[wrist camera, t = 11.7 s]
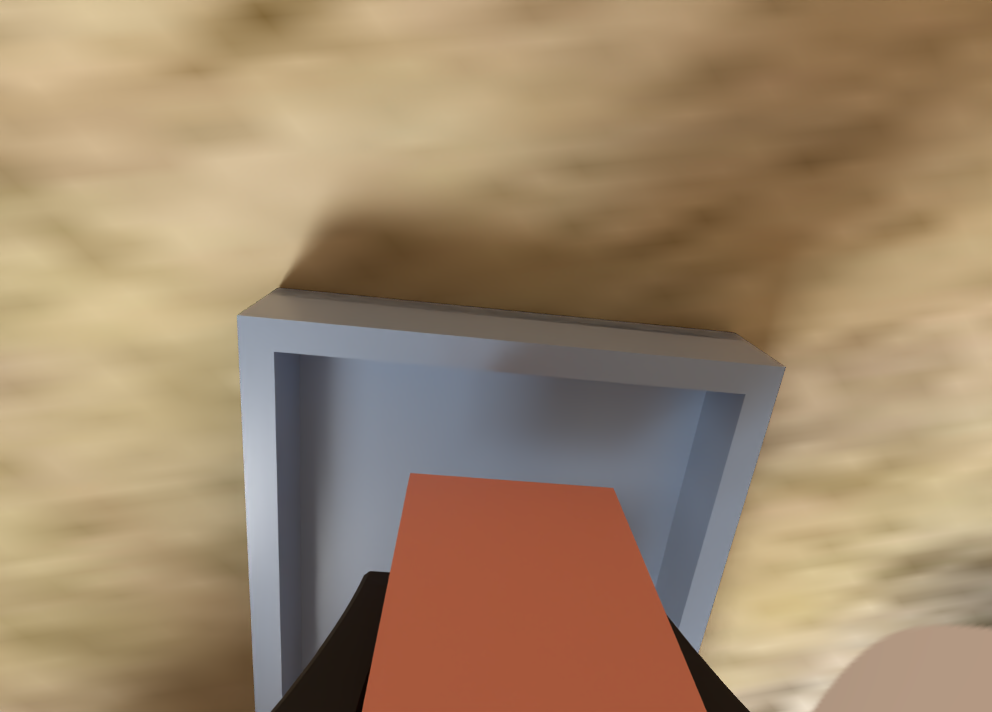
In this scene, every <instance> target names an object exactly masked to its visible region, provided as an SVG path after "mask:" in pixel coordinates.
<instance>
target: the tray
mask: <svg viewBox="0 0 992 712" xmlns="http://www.w3.org/2000/svg"><path fill="white" fill-rule="evenodd" d="M237 327H238V348H239V370H240V392H241V414H242V435H243V457H244V479H245V501H246V522H247V544H248V566H249V588H250V609H251V631H252V653H253V675H254V696H255V712H271V711H272V709H273V708H274V707H275V706H276V705H277V703H278V702H279V701H280V700H281V699H282V697H283V696H284V695H285V694H286V692H287V691H288V690H289V688H290V687H291V686H292V685H293V683H294V682H295V681H296V679H297V678H298V677H299V675H300V674H301V673H302V672H303V670H304V669H305V668H306V666H307V665H308V664H309V662H310V661H311V660H312V658H313V657H314V656H315V654H316V653H317V651H318V650H319V648H320V647H321V645H322V644H323V643H324V641H325V640H326V638H327V637H328V635H329V634H330V632H331V631H332V629H333V628H334V626H335V625H336V623H337V622H338V620H339V619H340V617H341V616H342V614H343V612H344V611H345V609H346V608H347V606H348V604H349V602H350V601H351V599H352V597H353V596H354V594H355V592H356V590H357V588H358V586H359V584H360V582H361V580H362V578H363V576H364V575H365V574H366V573H368V572H369V571H379V572H390V570H391V565H392V560H393V555H394V550H395V545H396V540H397V535H398V530H399V526H400V521H401V516H402V511H403V506H404V501H405V496H406V491H407V486H408V481H409V476H410V473H418V474H431V475H445V476H458V477H472V478H485V479H499V480H512V481H526V482H540V483H553V484H567V485H580V486H594V487H607V488H614V491H615V493H616V495H617V498H618V500H619V503H620V505H621V507H622V510H623V512H624V515H625V517H626V519H627V522H628V524H629V527H630V529H631V531H632V534H633V536H634V539H635V541H636V543H637V546H638V548H639V551H640V553H641V555H642V558H643V560H644V562H645V565H646V567H647V570H648V572H649V574H650V577H651V579H652V582H653V584H654V586H655V589H656V591H657V594H658V596H659V598H660V601H661V603H662V606H663V608H664V610H665V613H666V614H667V616H668V617H669V618H670V619H671V621H672V622H673V623H674V624H675V626H676V627H677V628H678V629H679V630H680V632H681V633H682V634H683V635H684V637H685V638H686V639H687V640H688V642H689V643H690V644H691V645H692V647H693V648H694V649H695V650H696V651H697V653H698V652H699V649H700V646H701V642H702V639H703V636H704V633H705V629H706V626H707V623H708V619H709V616H710V613H711V610H712V606H713V603H714V600H715V597H716V593H717V590H718V587H719V584H720V580H721V577H722V574H723V570H724V567H725V564H726V561H727V557H728V554H729V551H730V548H731V544H732V541H733V538H734V535H735V531H736V528H737V525H738V521H739V518H740V515H741V512H742V508H743V505H744V502H745V499H746V495H747V492H748V489H749V486H750V482H751V479H752V476H753V472H754V469H755V466H756V463H757V459H758V456H759V453H760V450H761V446H762V443H763V440H764V437H765V433H766V430H767V427H768V423H769V420H770V417H771V414H772V410H773V407H774V404H775V401H776V397H777V394H778V391H779V388H780V384H781V381H782V378H783V374H784V371H785V368H786V367H785V366H783V365H782V364H780V363H779V362H777V361H776V360H774V359H773V358H771V357H770V356H768V355H767V354H766V353H764V352H763V351H761V350H760V349H758V348H757V347H755V346H754V345H752V344H751V343H749V342H748V341H746V340H745V339H743V338H742V337H740V336H739V335H737V334H736V333H732V332H722V331H712V330H702V329H692V328H682V327H672V326H661V325H651V324H641V323H631V322H621V321H611V320H601V319H591V318H580V317H570V316H560V315H550V314H540V313H530V312H520V311H510V310H500V309H489V308H479V307H469V306H459V305H449V304H439V303H429V302H419V301H408V300H398V299H388V298H378V297H368V296H358V295H348V294H338V293H327V292H317V291H307V290H297V289H287V288H277V289H275V290H274V291H272V292H271V293H269V294H268V295H266V296H265V297H263V298H262V299H260V300H259V301H257V302H256V303H254V304H253V305H251V306H250V307H248V308H247V309H245V310H244V311H242V312H241V313H239V314H238V315H237Z"/></svg>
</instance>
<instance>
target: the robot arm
mask: <svg viewBox="0 0 992 712" xmlns="http://www.w3.org/2000/svg"><path fill="white" fill-rule="evenodd" d="M389 575H390V572H379V571H369V572H368V573H366V574H365V575H364V576H363V578H362V580H361V582H360V584H359V586H358V588H357V590H356V592H355V594H354V596H353V597H352V599H351V601H350V602H349V604H348V606H347V608H346V609H345V611H344V612H343V614H342V616H341V617H340V619H339V620H338V622H337V623H336V625H335V626H334V628H333V629H332V631H331V632H330V634H329V635H328V637H327V638H326V640H325V641H324V643H323V644H322V645H321V647H320V648H319V650H318V651H317V653H316V654H315V656H314V657H313V658H312V660H311V661H310V662H309V664H308V665H307V666H306V668H305V669H304V670H303V672H302V673H301V674H300V675H299V677H298V678H297V679H296V681H295V682H294V683H293V685H292V686H291V687H290V688H289V690H288V691H287V692H286V694H285V695H284V696H283V697H282V699H281V700H280V701H279V702H278V703H277V705H276V706H275V707H274V708H273V709H272V711H271V712H362V709H363V704H364V699H365V694H366V689H367V684H368V679H369V674H370V669H371V664H372V659H373V654H374V649H375V644H376V639H377V634H378V629H379V625H380V620H381V615H382V610H383V605H384V600H385V595H386V590H387V585H388V580H389ZM666 615H667V614H666ZM667 618H668V620H669V622H670V625H671V627H672V630H673V632H674V634H675V637H676V639H677V642H678V644H679V646H680V649H681V651H682V654H683V656H684V658H685V661H686V663H687V666H688V668H689V670H690V673H691V675H692V677H693V680H694V682H695V685H696V687H697V689H698V692H699V694H700V697H701V699H702V701H703V704H704V706H705V709H706V711H707V712H750V711H749V710H748V709H747V708H746V707H745V706H744V705H743V704H742V703H741V702H740V701H739V700H738V699H737V697H736V696H735V695H734V694H733V693H732V692H731V691H730V690H729V689H728V687H727V686H726V685H725V684H724V683H723V682H722V681H721V680H720V678H719V677H718V676H717V675H716V674H715V673H714V671H713V670H712V669H711V668H710V667H709V666H708V664H707V663H706V662H705V661H704V660H703V659H702V657H701V656H700V655H699V654H698V653H697V651H696V650H695V649H694V648H693V647H692V645H691V644H690V643H689V642H688V640H687V639H686V638H685V637H684V635H683V634H682V633H681V632H680V630H679V629H678V628H677V627H676V626H675V624H674V623H673V622H672V621H671V619H670V618H669V617H668V616H667Z"/></svg>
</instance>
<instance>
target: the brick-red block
mask: <svg viewBox="0 0 992 712" xmlns="http://www.w3.org/2000/svg"><path fill="white" fill-rule="evenodd" d="M362 712H707V711H706V709H705V706H704V704H703V701H702V699H701V697H700V694H699V692H698V689H697V687H696V685H695V682H694V680H693V677H692V675H691V673H690V670H689V668H688V666H687V663H686V661H685V658H684V656H683V654H682V651H681V649H680V646H679V644H678V642H677V639H676V637H675V634H674V632H673V630H672V627H671V625H670V622H669V620H668V618H667V615H666V613H665V610H664V608H663V606H662V603H661V601H660V598H659V596H658V594H657V591H656V589H655V586H654V584H653V582H652V579H651V577H650V574H649V572H648V570H647V567H646V565H645V562H644V560H643V558H642V555H641V553H640V551H639V548H638V546H637V543H636V541H635V539H634V536H633V534H632V531H631V529H630V527H629V524H628V522H627V519H626V517H625V515H624V512H623V510H622V507H621V505H620V503H619V500H618V498H617V495H616V493H615V491H614V488H607V487H594V486H580V485H567V484H553V483H540V482H526V481H512V480H499V479H485V478H472V477H458V476H445V475H431V474H418V473H410V476H409V481H408V486H407V491H406V496H405V501H404V506H403V511H402V516H401V521H400V526H399V530H398V535H397V540H396V545H395V550H394V555H393V560H392V565H391V570H390V575H389V580H388V585H387V590H386V595H385V600H384V605H383V610H382V615H381V620H380V625H379V629H378V634H377V639H376V644H375V649H374V654H373V659H372V664H371V669H370V674H369V679H368V684H367V689H366V694H365V699H364V704H363V709H362Z"/></svg>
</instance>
